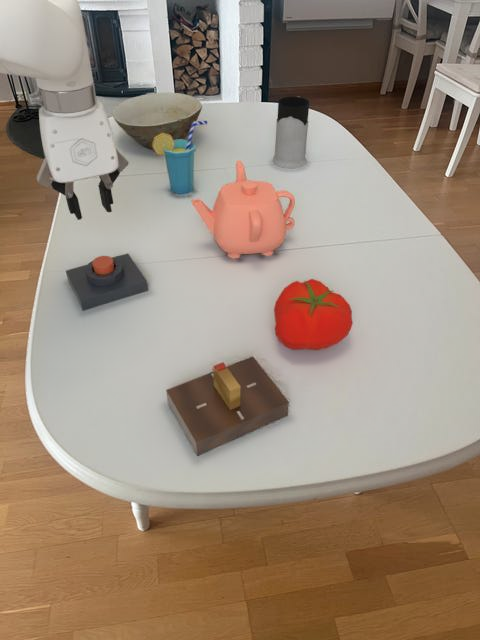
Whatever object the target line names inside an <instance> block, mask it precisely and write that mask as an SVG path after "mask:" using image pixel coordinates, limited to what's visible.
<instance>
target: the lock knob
mask: <svg viewBox="0 0 480 640" xmlns="http://www.w3.org/2000/svg"><path fill="white" fill-rule="evenodd" d="M212 372H213V376H214V387H215V388H216V390H217V391H218V393H219V394H220V396H221V397H222V399H223V400H224V402H225V403H226V405H227V406H228V408H229V409H230V410H232V409H234V408H237V407H239V406H240V392H241V386H240V385H239V384H238V382H237V381H236V379H235V378H234V377H233V375H232V374H231V372H230V371H229V370H228V368H227V365H226V363H224V362H219V363H217V364H215V365H212Z"/></svg>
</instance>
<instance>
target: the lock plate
mask: <svg viewBox="0 0 480 640" xmlns="http://www.w3.org/2000/svg"><path fill="white" fill-rule="evenodd" d="M226 367H227V368H228V370H229V371H230V372H231V374H232V375H233V377H234V378H235V379H236V381H237V382H238V384H239V385H240V386H241V392H240V406H239V407H237V408H234V409H232V410H230V409H229V408H228V406H227V405H226V403H225V402H224V400H223V399H222V397H221V396H220V394H219V393H218V391H217V390H216V388H215V387H214V376H213V371H211V372H209V373H207V374H204V375H201V376H198V377H196V378H194V379H191V380H187V381H186V382H183V383H181V384H178V385H175V386H173V387H170V388H168V389H166V390H165V392H166V399H167V400H166V401H167V405H168V407H169V408H170V410H171V412H172V414H173V415H174V417H175V420H176V421H177V423H178V424H179V426H180V428H181V430H182V432H183V433H184V435H185V437H186V439H187V440H188V442H189V444H190V446H191V448H192V449H193V451H194V453H195V454H196V456H197V457H198V456H201V455H203V454H205V453H208V452H210V451H212V450H214V449H217V448H218V447H222V446H223V445H225V444H228V443H230V442H232V441H234V440H236V439H239V438H241V437H243V436H245V435H248V434H251V433H252V432H254V431H256V430H259V429H261V428H263V427H266V426H268V425H270V424H272V423H274V422H276V421H279V420H281V419H283V418H285V417H288V414H289V405H290V401H289V400H288V399H287V397H286V396H285V395H284V394H283V392H282V391H281V390H280V388H279V387H278V386H277V384H276V383H275V382H274V381H273V379H271V377H270V376H269V374H268V373H267V372H266V371H265V369H264V368H263V367H262V366H261V364H260V363H259V361H257V359H256V358H255V357H254V355H252V356H250V357H247V358H245V359H242V360H240V361H237V362H234V363H232V364H229V365H226Z"/></svg>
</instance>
